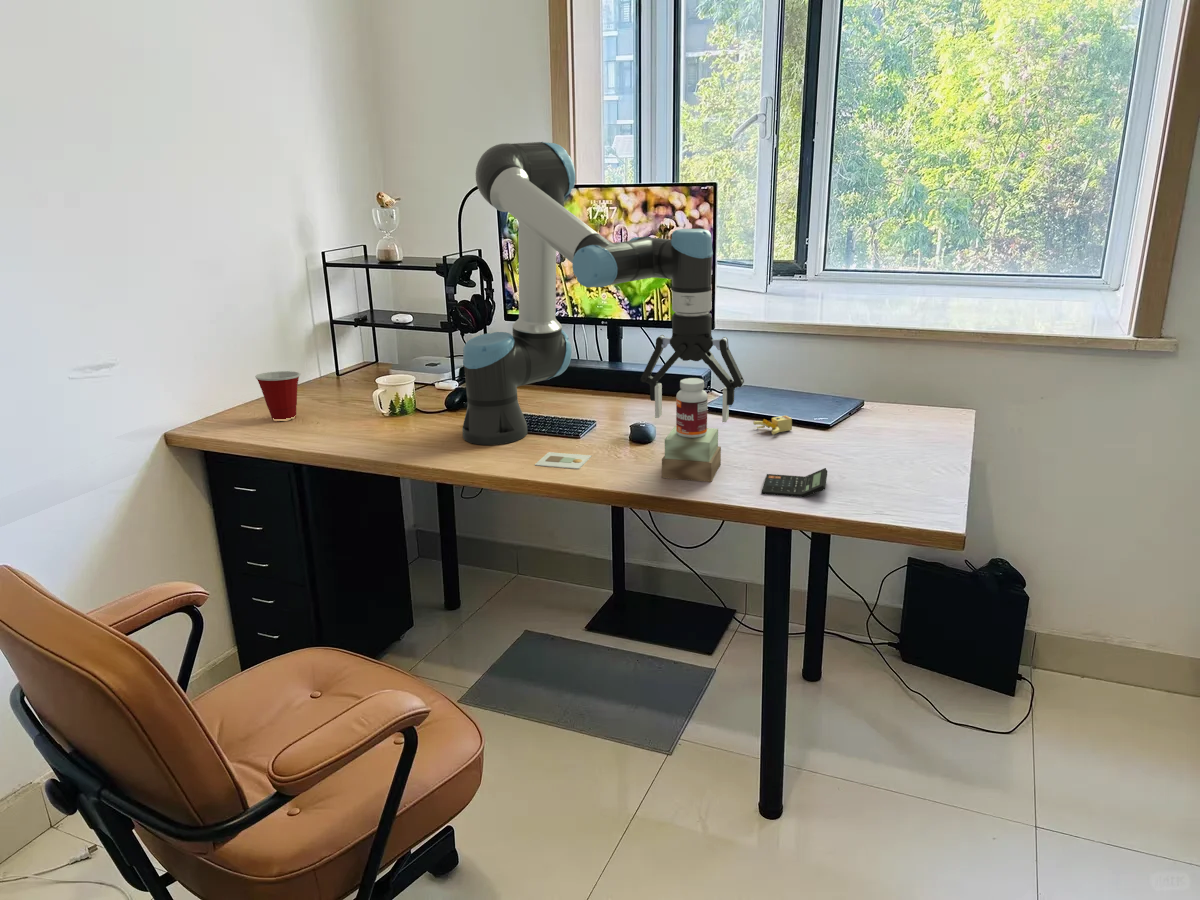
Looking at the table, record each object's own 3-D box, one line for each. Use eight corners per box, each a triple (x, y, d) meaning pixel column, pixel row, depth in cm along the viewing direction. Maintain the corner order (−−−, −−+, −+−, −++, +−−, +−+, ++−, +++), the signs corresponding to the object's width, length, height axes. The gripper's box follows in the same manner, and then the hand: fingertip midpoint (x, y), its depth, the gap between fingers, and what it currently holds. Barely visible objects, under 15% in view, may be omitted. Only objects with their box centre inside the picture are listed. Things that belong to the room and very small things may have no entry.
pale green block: (662, 477, 171) (661, 440, 169) (673, 461, 180) (673, 425, 178) (711, 482, 168) (711, 443, 166) (720, 464, 177) (721, 428, 175)
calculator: (766, 477, 170) (767, 463, 169) (826, 482, 167) (827, 467, 166) (761, 495, 162) (761, 480, 161) (824, 500, 159) (825, 485, 158)
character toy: (750, 415, 198) (781, 411, 200) (750, 428, 199) (780, 424, 201) (767, 425, 191) (798, 420, 193) (767, 438, 192) (798, 434, 194)
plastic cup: (316, 415, 222) (309, 370, 218) (283, 426, 214) (276, 380, 210) (286, 410, 227) (279, 366, 223) (253, 422, 218) (245, 376, 214)
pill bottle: (669, 434, 172) (669, 381, 168) (690, 427, 176) (690, 375, 172) (693, 440, 168) (693, 386, 164) (713, 433, 172) (714, 380, 168)
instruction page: (534, 465, 181) (534, 464, 181) (548, 452, 188) (548, 451, 188) (579, 469, 178) (579, 467, 178) (591, 456, 185) (591, 455, 185)
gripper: (623, 314, 164) (626, 419, 171) (754, 317, 156) (751, 427, 164) (634, 307, 171) (636, 409, 178) (760, 310, 163) (757, 416, 170)
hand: (691, 418), depth 171 cm, fingers open, 13 cm apart
